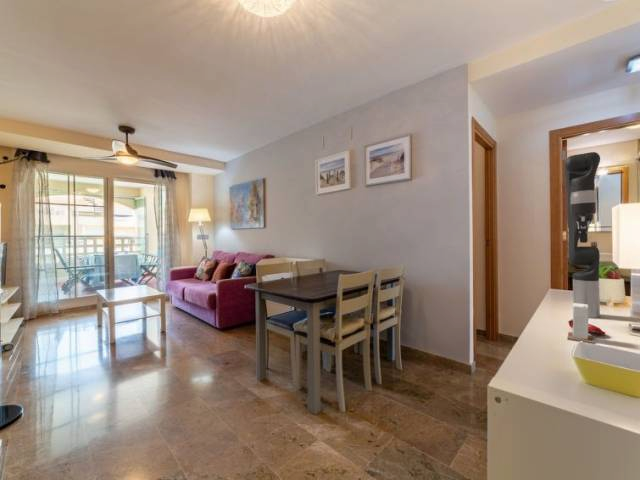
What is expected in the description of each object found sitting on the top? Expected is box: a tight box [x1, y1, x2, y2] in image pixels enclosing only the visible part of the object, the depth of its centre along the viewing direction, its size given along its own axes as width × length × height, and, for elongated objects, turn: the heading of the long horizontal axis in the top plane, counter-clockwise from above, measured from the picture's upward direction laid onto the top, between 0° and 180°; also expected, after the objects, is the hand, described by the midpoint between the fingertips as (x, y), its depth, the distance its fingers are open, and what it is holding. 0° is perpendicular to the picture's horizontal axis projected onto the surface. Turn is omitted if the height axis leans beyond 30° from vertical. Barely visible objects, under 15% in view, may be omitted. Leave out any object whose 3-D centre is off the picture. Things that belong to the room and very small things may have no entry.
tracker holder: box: [567, 318, 606, 335], centre depth 112 cm, size 12×4×10 cm
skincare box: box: [572, 303, 589, 339], centre depth 106 cm, size 6×4×12 cm
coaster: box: [567, 331, 594, 344], centre depth 106 cm, size 9×7×1 cm
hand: (583, 242), depth 115 cm, fingers open, 8 cm apart
